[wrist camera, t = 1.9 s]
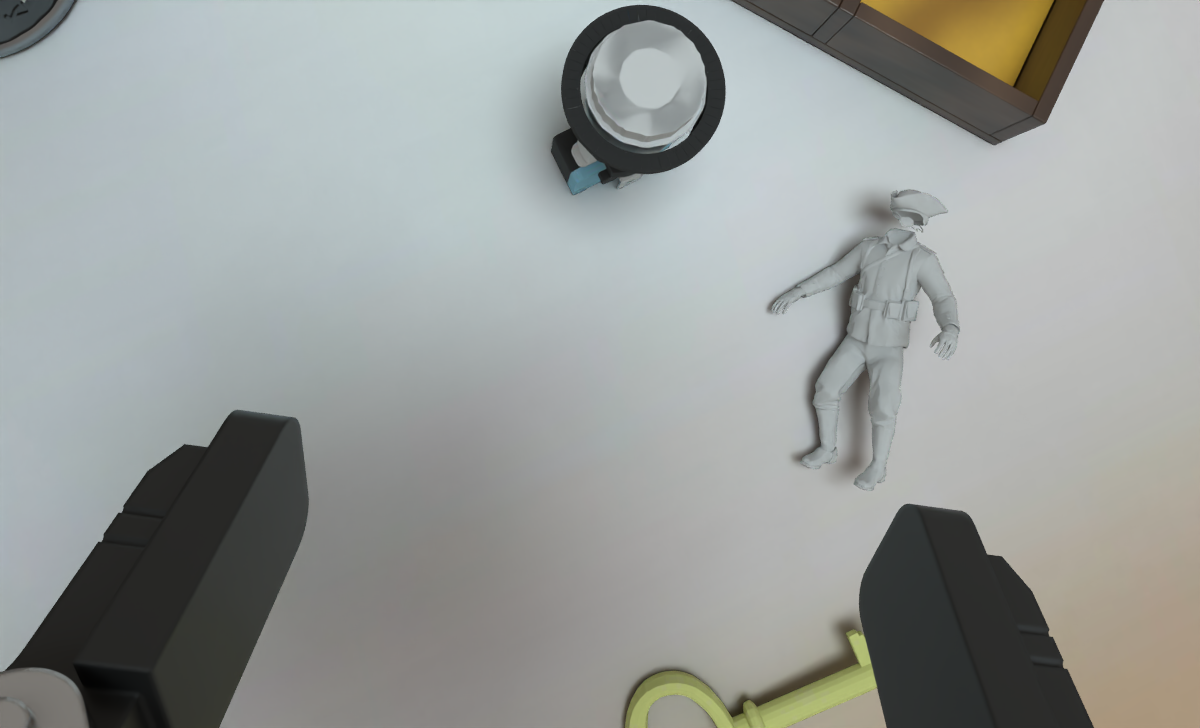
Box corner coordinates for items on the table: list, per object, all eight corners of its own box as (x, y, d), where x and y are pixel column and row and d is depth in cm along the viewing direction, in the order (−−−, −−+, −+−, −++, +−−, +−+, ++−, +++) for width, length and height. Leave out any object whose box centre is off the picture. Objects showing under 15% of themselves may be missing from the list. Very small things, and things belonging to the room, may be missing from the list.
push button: (665, 59, 35) (724, -55, 25) (718, 170, 35) (799, 101, 25) (528, 124, 34) (533, 35, 24) (584, 237, 35) (612, 193, 25)
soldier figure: (739, 444, 37) (785, 176, 33) (791, 419, 40) (838, 175, 36) (905, 512, 32) (981, 209, 28) (947, 477, 36) (1020, 204, 32)
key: (891, 652, 37) (914, 671, 34) (693, 843, 36) (704, 874, 34) (789, 538, 36) (806, 550, 34) (586, 730, 35) (590, 754, 33)
